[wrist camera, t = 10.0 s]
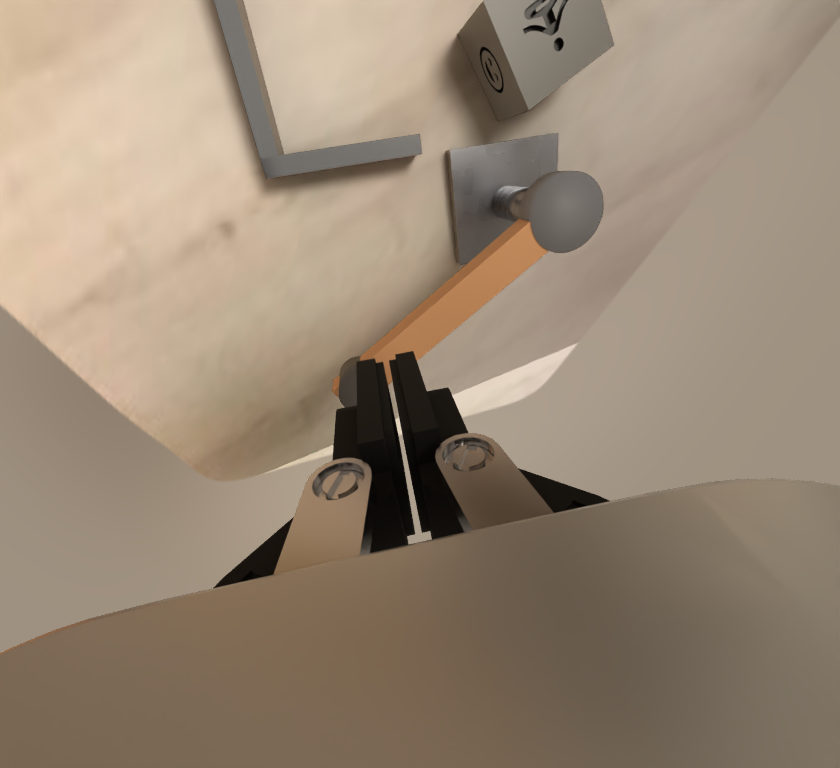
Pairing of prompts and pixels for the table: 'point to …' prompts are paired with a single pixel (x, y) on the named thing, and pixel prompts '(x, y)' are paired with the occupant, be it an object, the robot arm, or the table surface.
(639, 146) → the table surface
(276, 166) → the frame
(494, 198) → the grey post stand
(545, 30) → the dice cube
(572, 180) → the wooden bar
